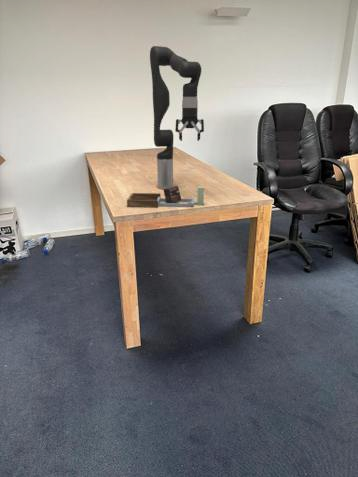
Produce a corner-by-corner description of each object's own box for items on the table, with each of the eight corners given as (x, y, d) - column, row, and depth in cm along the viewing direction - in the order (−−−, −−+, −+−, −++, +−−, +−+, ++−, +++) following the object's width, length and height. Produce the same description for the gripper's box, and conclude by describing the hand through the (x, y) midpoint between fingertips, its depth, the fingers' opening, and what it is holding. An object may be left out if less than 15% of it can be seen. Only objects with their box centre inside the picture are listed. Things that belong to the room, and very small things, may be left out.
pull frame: (158, 201, 189) (158, 184, 186) (203, 201, 188) (203, 184, 184) (156, 206, 180) (155, 188, 177) (203, 207, 179) (203, 189, 176)
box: (171, 203, 180) (168, 189, 178) (165, 202, 185) (162, 188, 183) (181, 200, 182) (178, 186, 180) (176, 199, 188) (173, 185, 186)
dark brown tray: (132, 199, 192) (131, 193, 191) (160, 199, 191) (160, 193, 190) (127, 207, 180) (126, 200, 178) (157, 207, 179) (157, 200, 177)
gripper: (204, 106, 180) (203, 139, 186) (175, 106, 180) (176, 139, 187) (204, 107, 173) (203, 141, 179) (174, 107, 174) (175, 141, 180)
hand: (189, 140), depth 183 cm, fingers open, 8 cm apart
